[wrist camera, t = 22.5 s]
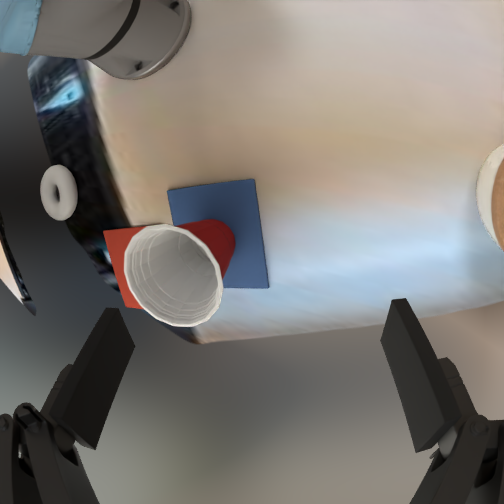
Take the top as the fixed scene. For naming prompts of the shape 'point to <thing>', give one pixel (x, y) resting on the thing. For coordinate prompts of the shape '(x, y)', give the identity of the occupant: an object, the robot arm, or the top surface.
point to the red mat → (121, 259)
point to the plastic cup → (179, 269)
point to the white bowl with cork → (492, 195)
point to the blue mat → (234, 216)
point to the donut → (67, 190)
